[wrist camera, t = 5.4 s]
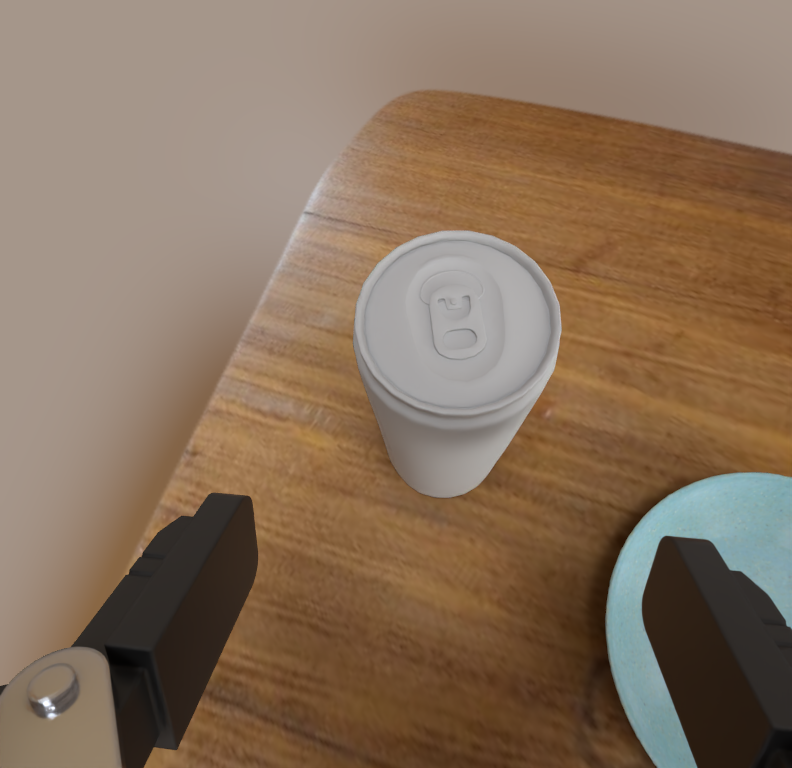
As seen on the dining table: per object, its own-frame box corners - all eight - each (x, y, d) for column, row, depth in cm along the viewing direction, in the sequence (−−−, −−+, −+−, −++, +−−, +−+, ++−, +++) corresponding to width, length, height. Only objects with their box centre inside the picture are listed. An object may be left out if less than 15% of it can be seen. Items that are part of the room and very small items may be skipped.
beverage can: (488, 385, 24) (544, 213, 12) (507, 493, 22) (591, 408, 11) (381, 397, 24) (340, 237, 12) (392, 506, 22) (356, 434, 11)
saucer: (853, 927, 17) (915, 978, 15) (530, 680, 20) (542, 692, 17) (968, 602, 20) (1035, 605, 18) (673, 427, 23) (699, 412, 20)
